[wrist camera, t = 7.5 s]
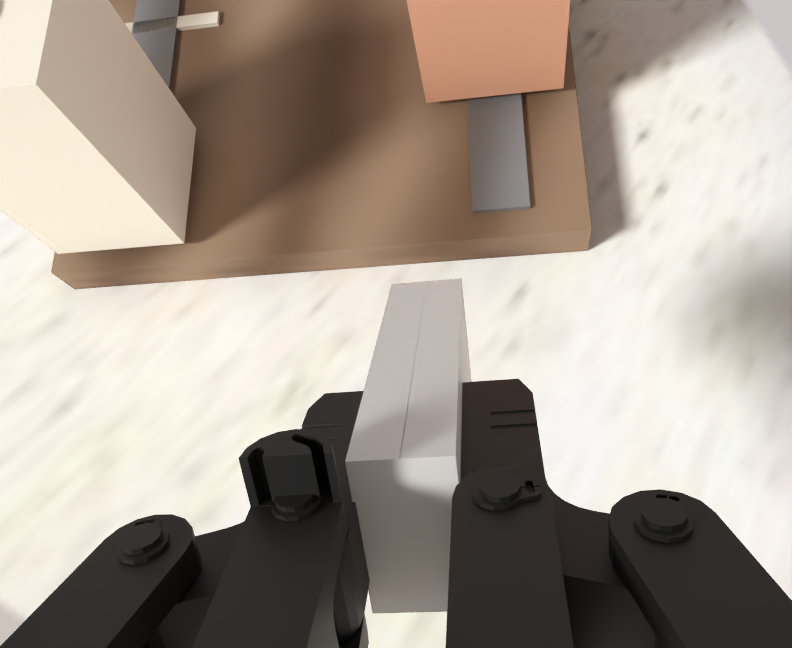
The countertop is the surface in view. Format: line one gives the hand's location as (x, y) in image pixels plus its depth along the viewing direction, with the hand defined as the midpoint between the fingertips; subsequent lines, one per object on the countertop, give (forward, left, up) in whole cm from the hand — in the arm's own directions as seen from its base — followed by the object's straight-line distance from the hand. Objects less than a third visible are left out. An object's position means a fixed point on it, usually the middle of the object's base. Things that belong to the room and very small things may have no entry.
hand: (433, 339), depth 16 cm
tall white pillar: (-12, +10, -8) cm, 17 cm away
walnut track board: (-5, +14, -10) cm, 17 cm away
